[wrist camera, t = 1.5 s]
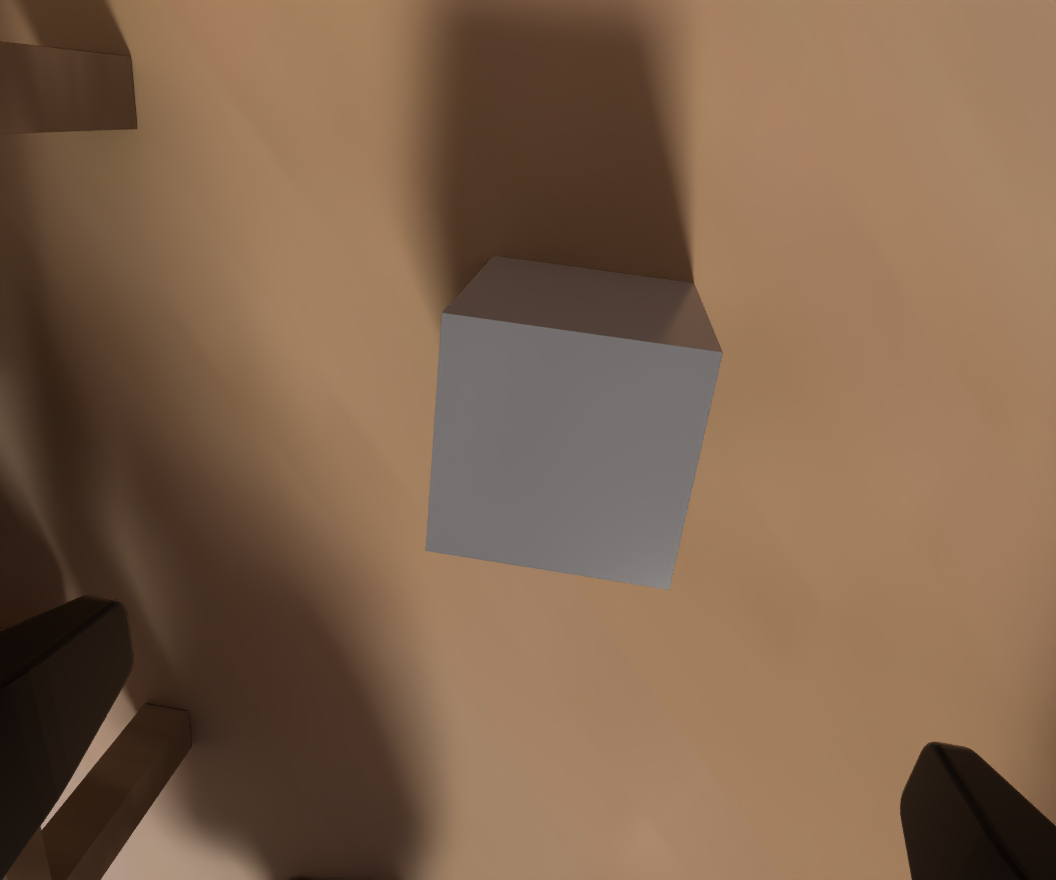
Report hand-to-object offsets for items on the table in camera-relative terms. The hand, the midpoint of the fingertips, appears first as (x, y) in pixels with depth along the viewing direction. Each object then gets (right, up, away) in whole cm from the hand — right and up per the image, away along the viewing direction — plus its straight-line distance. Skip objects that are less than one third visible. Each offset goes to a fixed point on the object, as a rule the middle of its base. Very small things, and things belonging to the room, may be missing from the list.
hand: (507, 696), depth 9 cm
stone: (+2, +5, +12) cm, 13 cm away
